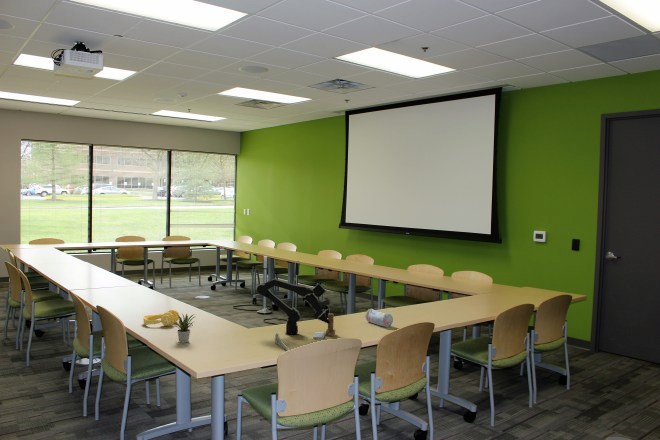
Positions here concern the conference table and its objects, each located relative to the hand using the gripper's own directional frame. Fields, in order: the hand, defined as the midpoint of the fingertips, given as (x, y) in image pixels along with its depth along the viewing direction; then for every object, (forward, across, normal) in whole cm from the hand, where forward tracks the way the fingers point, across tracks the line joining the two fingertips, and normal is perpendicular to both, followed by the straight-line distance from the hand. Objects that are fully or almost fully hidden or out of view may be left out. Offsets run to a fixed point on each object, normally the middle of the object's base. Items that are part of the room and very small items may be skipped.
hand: (331, 321), depth 313 cm
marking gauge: (+6, 0, +6) cm, 8 cm away
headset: (-72, -5, +85) cm, 112 cm away
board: (+2, -5, +10) cm, 11 cm away
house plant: (-47, -38, +60) cm, 85 cm away
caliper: (-7, -35, +20) cm, 41 cm away
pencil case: (+23, +38, -11) cm, 46 cm away
